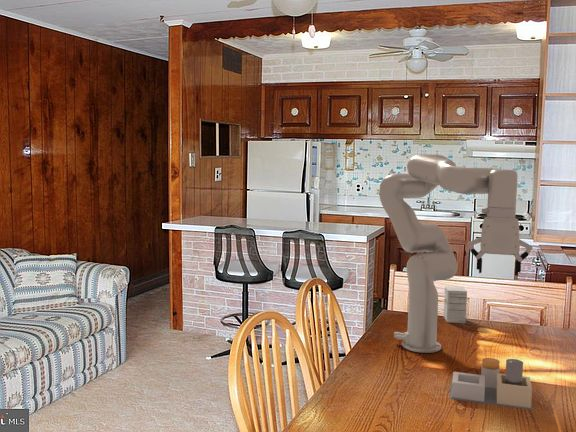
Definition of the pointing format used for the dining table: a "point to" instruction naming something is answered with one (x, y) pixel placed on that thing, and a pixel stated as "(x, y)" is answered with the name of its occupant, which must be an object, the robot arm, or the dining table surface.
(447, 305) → the supplement box
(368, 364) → the dining table surface
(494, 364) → the button
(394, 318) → the dining table surface
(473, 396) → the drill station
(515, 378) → the grey rounded cylinder
